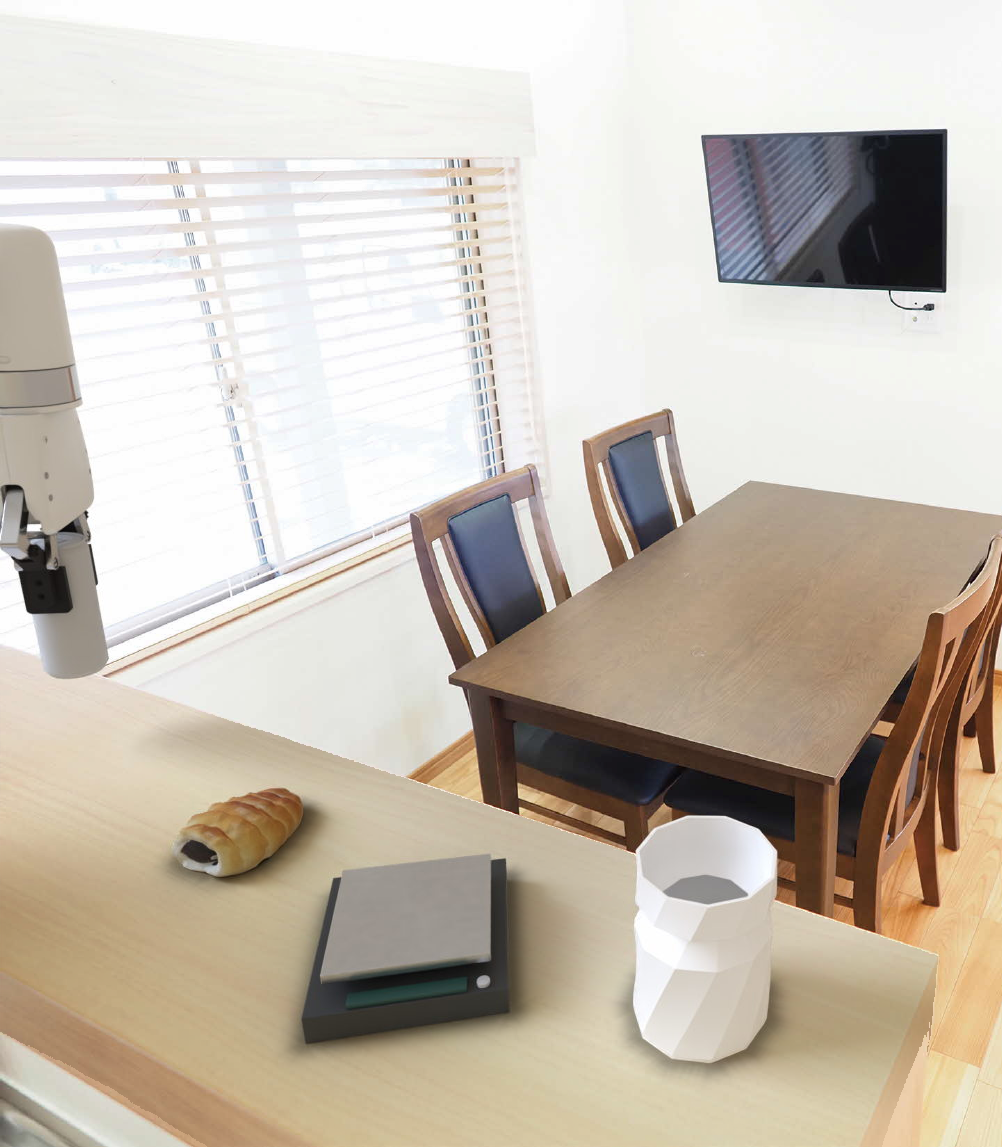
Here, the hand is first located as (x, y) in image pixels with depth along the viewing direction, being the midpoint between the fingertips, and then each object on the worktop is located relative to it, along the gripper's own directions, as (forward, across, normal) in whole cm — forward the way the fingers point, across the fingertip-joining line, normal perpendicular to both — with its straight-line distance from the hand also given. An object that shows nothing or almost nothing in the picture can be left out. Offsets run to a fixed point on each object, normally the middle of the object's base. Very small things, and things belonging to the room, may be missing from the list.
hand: (63, 597), depth 83 cm
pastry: (+14, +19, +16) cm, 29 cm away
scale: (+14, +33, +30) cm, 47 cm away
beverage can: (+7, 0, 0) cm, 7 cm away
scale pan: (+11, +33, +30) cm, 46 cm away
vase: (+14, +42, +48) cm, 65 cm away
